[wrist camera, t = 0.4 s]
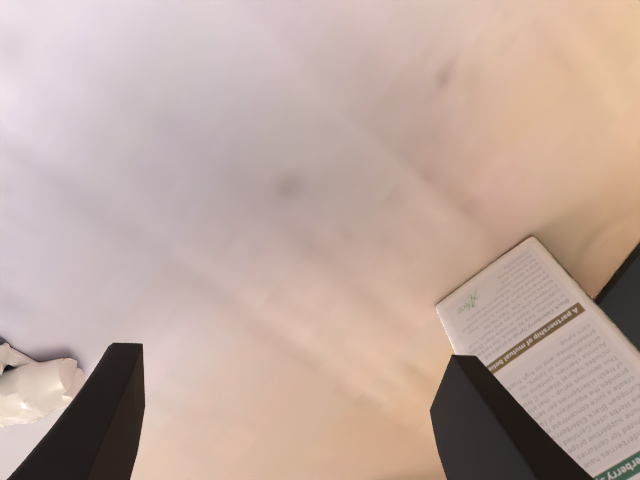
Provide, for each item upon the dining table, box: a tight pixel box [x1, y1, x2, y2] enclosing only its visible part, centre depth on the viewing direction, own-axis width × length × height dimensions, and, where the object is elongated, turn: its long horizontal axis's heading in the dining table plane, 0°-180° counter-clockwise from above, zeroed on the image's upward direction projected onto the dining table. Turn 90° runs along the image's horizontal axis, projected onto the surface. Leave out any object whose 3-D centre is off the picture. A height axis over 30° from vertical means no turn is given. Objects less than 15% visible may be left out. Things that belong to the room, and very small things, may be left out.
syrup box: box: [435, 237, 640, 480], centre depth 19 cm, size 6×6×14 cm
